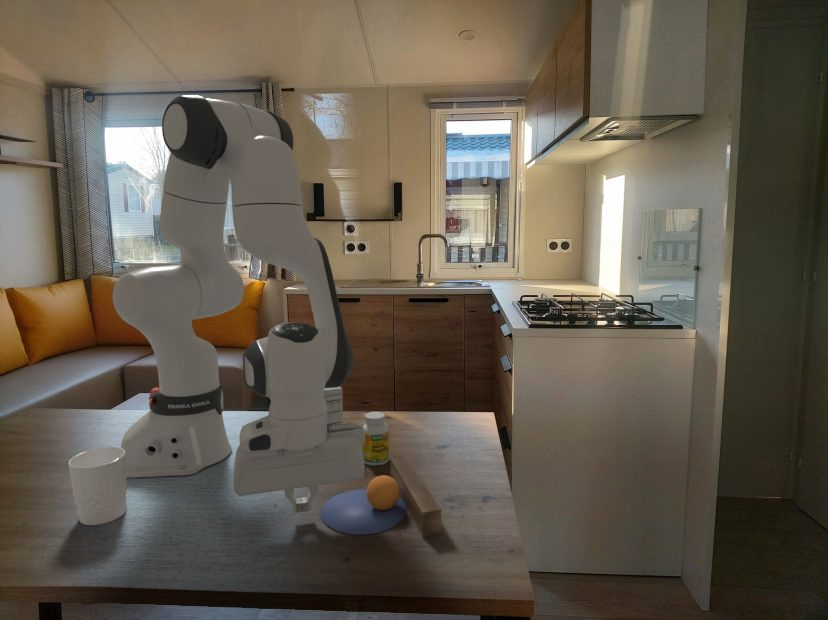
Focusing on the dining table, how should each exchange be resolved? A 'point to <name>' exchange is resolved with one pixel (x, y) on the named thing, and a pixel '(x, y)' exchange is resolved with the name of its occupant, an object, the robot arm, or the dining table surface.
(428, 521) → the rail
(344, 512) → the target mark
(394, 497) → the ball
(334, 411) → the supplement box
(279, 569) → the dining table surface
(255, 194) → the robot arm
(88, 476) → the white cup
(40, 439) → the dining table surface
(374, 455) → the supplement bottle
